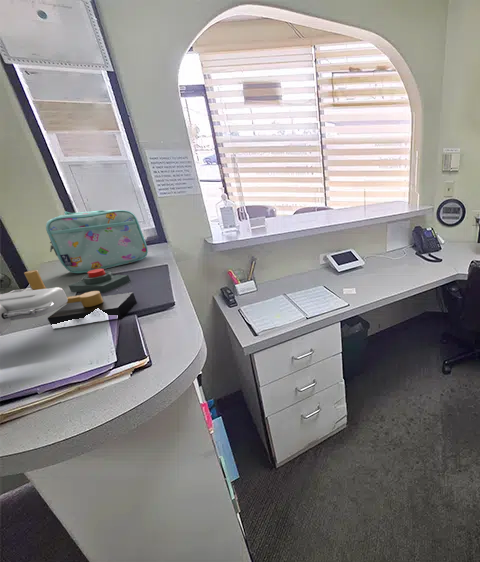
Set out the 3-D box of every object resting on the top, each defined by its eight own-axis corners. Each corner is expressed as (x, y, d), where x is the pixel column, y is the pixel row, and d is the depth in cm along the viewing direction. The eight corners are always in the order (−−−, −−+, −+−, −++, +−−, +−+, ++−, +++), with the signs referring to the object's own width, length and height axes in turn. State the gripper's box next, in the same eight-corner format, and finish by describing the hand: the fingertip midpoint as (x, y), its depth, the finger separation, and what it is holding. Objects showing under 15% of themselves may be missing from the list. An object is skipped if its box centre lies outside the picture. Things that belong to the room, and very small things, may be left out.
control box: (71, 292, 95) (65, 280, 93) (98, 280, 103) (94, 269, 102) (105, 292, 93) (100, 280, 92) (130, 281, 102) (126, 269, 100)
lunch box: (62, 279, 106) (33, 217, 98) (60, 272, 112) (33, 213, 104) (153, 259, 123) (135, 205, 115) (146, 255, 130) (129, 203, 122)
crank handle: (38, 314, 74) (18, 275, 70) (49, 307, 77) (30, 269, 74) (99, 305, 77) (83, 267, 73) (106, 299, 81) (91, 262, 77)
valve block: (53, 329, 73) (47, 318, 72) (76, 311, 82) (71, 300, 81) (122, 318, 77) (117, 307, 76) (137, 302, 86) (133, 292, 85)
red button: (85, 278, 95) (83, 273, 95) (98, 273, 99) (95, 268, 98) (97, 278, 95) (95, 273, 94) (109, 273, 99) (107, 268, 98)
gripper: (35, 296, 58) (75, 272, 70) (-117, 316, 52) (-44, 286, 64) (49, 325, 60) (86, 297, 72) (-94, 347, 55) (-28, 312, 67)
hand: (24, 292), depth 68 cm, fingers closed
